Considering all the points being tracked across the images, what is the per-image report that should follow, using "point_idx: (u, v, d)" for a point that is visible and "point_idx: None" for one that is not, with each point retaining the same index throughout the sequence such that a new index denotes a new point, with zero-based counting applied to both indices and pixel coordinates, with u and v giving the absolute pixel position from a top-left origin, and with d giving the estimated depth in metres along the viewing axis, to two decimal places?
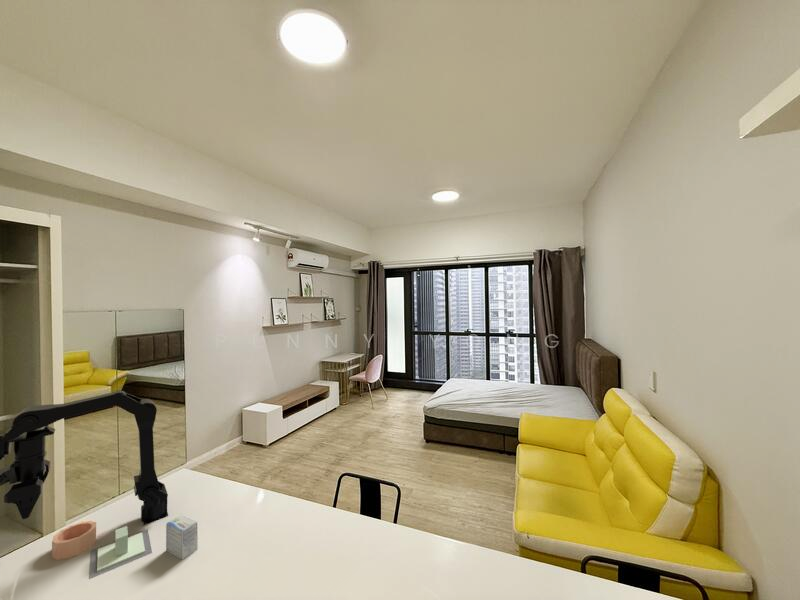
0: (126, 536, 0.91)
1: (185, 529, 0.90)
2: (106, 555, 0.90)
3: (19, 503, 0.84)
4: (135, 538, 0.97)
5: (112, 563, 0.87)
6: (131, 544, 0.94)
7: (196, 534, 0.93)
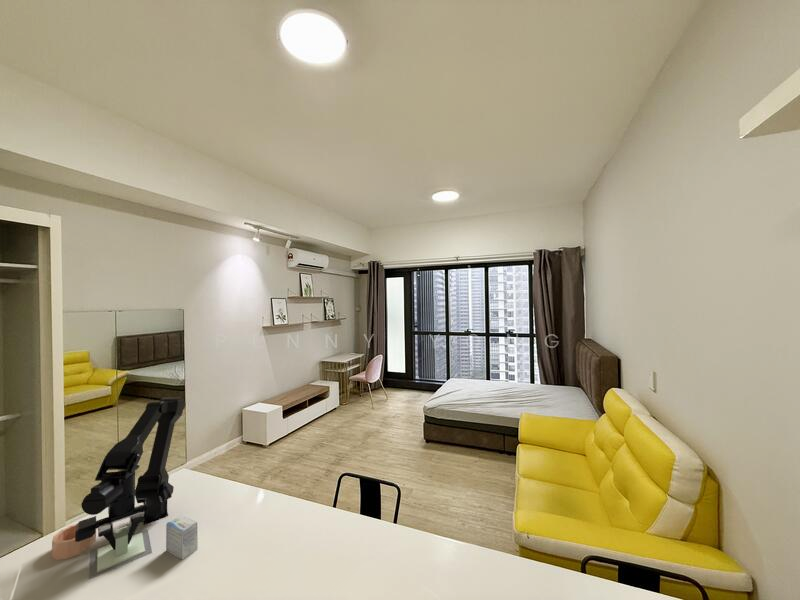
0: (126, 536, 0.91)
1: (185, 529, 0.90)
2: (106, 555, 0.90)
3: None
4: (135, 538, 0.97)
5: (112, 563, 0.87)
6: (131, 544, 0.94)
7: (196, 534, 0.93)
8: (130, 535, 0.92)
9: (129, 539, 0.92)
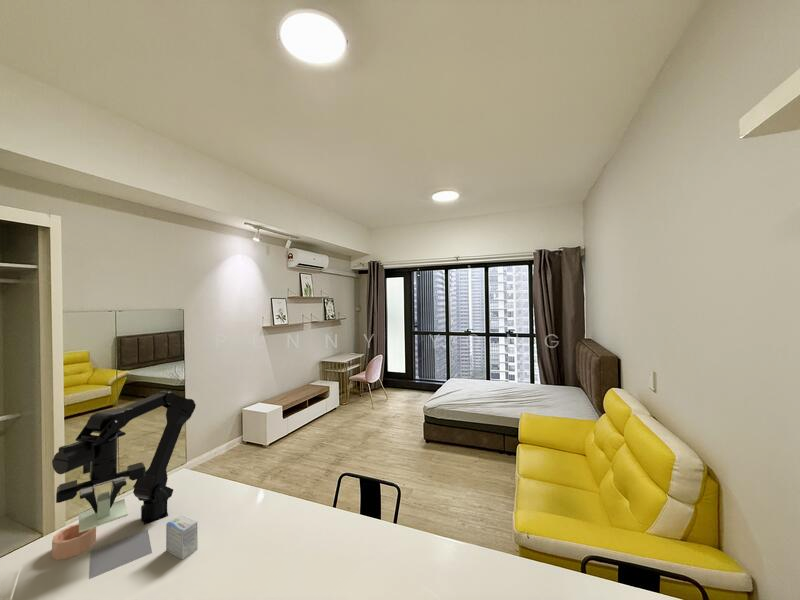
0: (108, 499, 0.92)
1: (185, 529, 0.90)
2: (88, 518, 0.91)
3: None
4: (117, 504, 0.97)
5: (94, 525, 0.88)
6: (113, 509, 0.95)
7: (196, 534, 0.93)
8: (112, 499, 0.93)
9: (111, 503, 0.93)
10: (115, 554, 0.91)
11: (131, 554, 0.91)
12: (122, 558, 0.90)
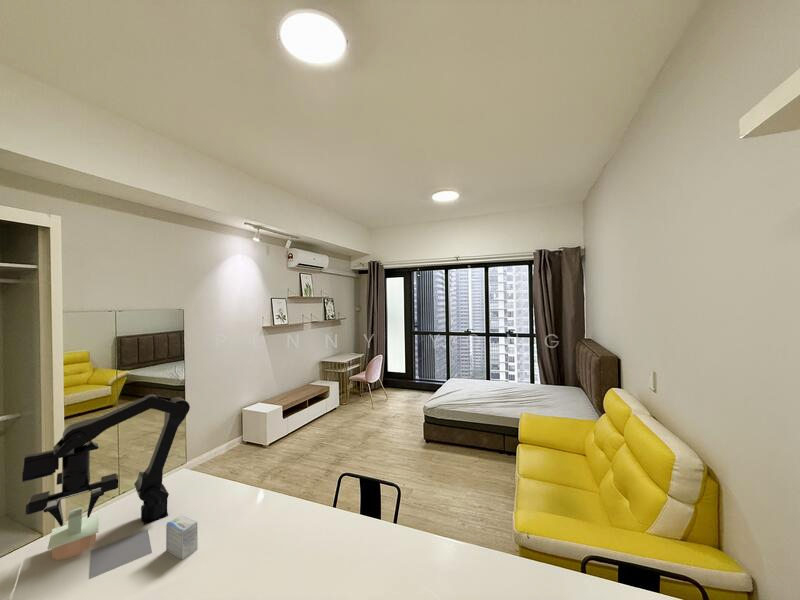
0: (79, 516, 0.93)
1: (185, 529, 0.90)
2: (59, 535, 0.92)
3: None
4: (91, 519, 0.98)
5: (63, 542, 0.89)
6: (86, 525, 0.96)
7: (196, 534, 0.93)
8: (90, 508, 0.95)
9: (89, 512, 0.95)
10: (115, 554, 0.91)
11: (131, 554, 0.91)
12: (122, 558, 0.90)
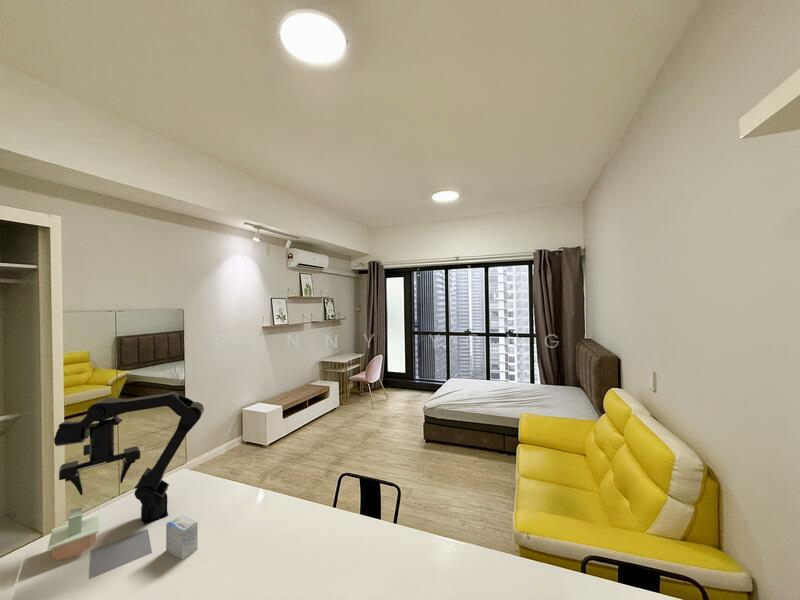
0: (79, 516, 0.93)
1: (185, 529, 0.90)
2: (59, 535, 0.92)
3: None
4: (91, 519, 0.98)
5: (63, 542, 0.89)
6: (86, 525, 0.96)
7: (196, 534, 0.93)
8: (123, 474, 1.04)
9: (122, 478, 1.05)
10: (115, 554, 0.91)
11: (131, 554, 0.91)
12: (122, 558, 0.90)
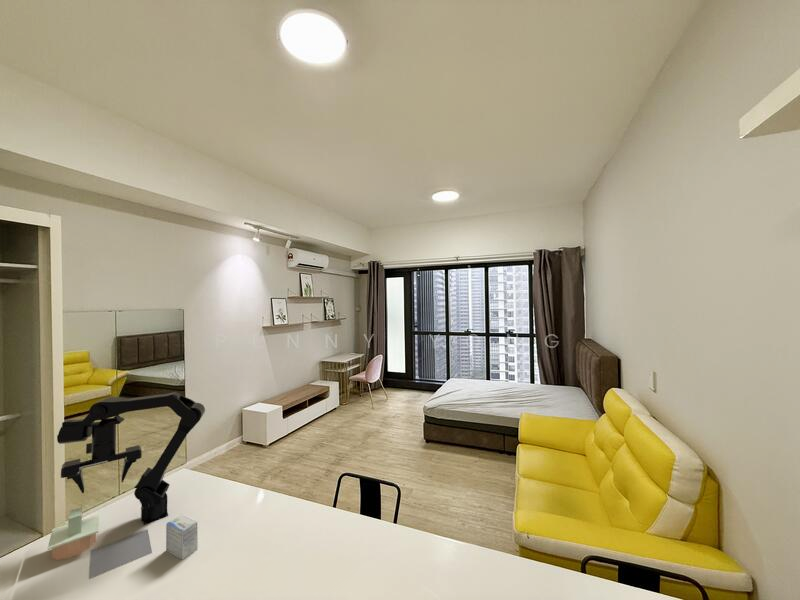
0: (79, 516, 0.93)
1: (185, 529, 0.90)
2: (59, 535, 0.92)
3: None
4: (91, 519, 0.98)
5: (63, 542, 0.89)
6: (86, 525, 0.96)
7: (196, 534, 0.93)
8: (124, 473, 1.05)
9: (123, 477, 1.05)
10: (115, 554, 0.91)
11: (131, 554, 0.91)
12: (122, 558, 0.90)
